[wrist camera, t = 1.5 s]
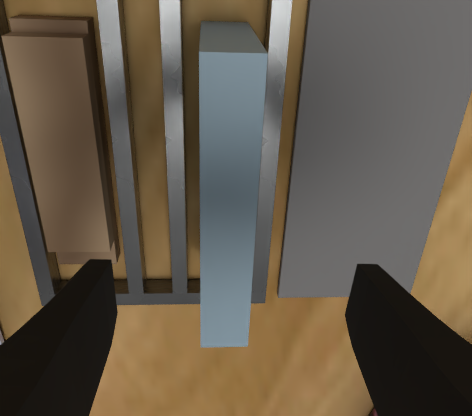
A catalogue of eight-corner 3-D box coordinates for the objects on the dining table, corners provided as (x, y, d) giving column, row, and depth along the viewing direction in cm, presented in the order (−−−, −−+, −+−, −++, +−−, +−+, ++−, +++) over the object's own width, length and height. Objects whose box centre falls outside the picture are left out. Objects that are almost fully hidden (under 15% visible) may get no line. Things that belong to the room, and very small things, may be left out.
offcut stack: (64, 253, 24) (53, 276, 22) (18, 15, 18) (-2, 21, 16) (120, 252, 24) (113, 275, 23) (92, 17, 18) (80, 24, 17)
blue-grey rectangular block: (201, 251, 25) (200, 347, 19) (201, 20, 19) (198, 51, 13) (237, 250, 25) (247, 346, 19) (247, 22, 19) (267, 53, 13)
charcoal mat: (277, 293, 26) (278, 297, 26) (314, -58, 17) (316, -58, 17) (406, 291, 27) (409, 296, 27) (507, -49, 18) (513, -49, 18)
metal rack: (48, 291, 25) (41, 305, 24) (-33, -64, 17) (-48, -65, 16) (262, 289, 26) (265, 303, 25) (291, -50, 17) (296, -50, 16)
